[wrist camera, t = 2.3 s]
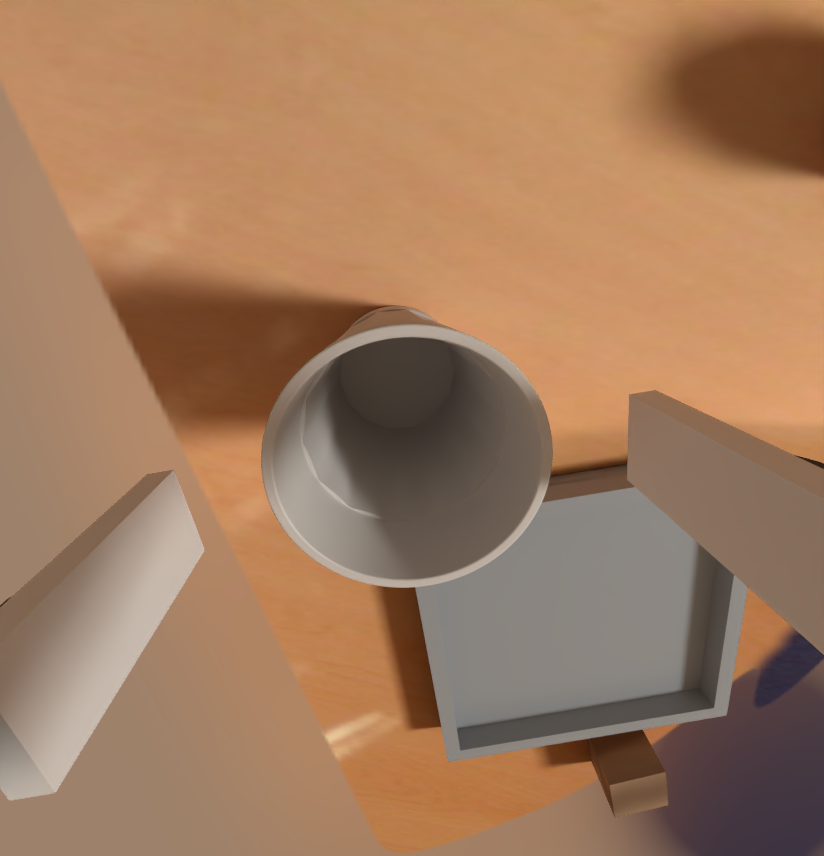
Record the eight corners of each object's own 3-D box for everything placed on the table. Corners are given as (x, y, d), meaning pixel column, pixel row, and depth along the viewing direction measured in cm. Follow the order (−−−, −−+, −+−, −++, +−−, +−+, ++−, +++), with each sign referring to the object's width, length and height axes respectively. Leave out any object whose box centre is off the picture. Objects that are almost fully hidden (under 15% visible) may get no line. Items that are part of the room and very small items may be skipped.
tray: (401, 501, 26) (403, 525, 24) (734, 446, 26) (768, 465, 24) (443, 727, 34) (447, 762, 31) (702, 683, 34) (726, 715, 31)
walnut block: (585, 729, 35) (609, 785, 31) (635, 716, 35) (665, 771, 31) (591, 760, 36) (614, 817, 33) (638, 748, 36) (668, 805, 33)
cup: (322, 437, 24) (273, 591, 13) (315, 286, 22) (245, 320, 10) (465, 438, 25) (533, 585, 14) (477, 290, 22) (575, 327, 11)
